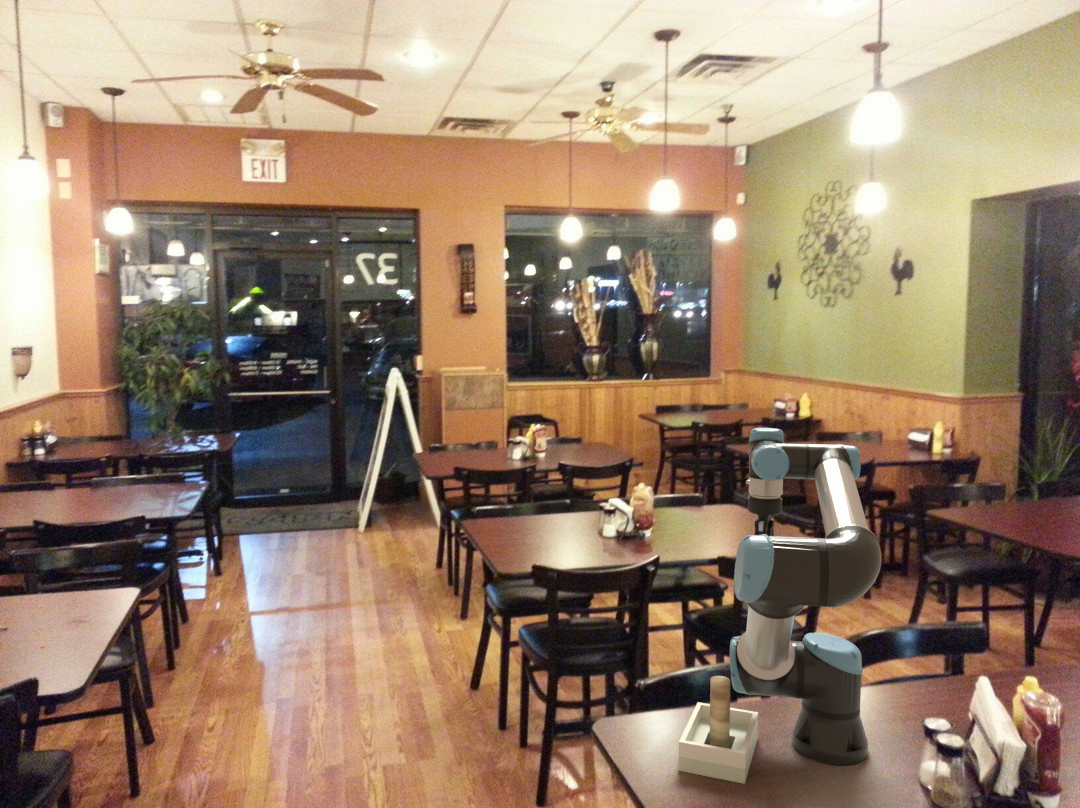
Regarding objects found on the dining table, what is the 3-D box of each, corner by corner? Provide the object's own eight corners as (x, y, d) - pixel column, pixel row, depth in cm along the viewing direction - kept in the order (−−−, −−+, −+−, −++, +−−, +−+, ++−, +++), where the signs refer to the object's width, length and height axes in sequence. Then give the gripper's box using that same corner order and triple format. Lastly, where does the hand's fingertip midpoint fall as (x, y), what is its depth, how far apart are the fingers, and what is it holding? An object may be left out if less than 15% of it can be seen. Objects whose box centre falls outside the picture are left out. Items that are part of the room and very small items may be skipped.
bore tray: (757, 739, 178) (758, 712, 177) (744, 783, 160) (745, 754, 160) (697, 728, 183) (697, 702, 182) (678, 770, 165) (678, 741, 165)
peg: (711, 748, 174) (712, 674, 173) (730, 751, 173) (731, 677, 171) (707, 757, 170) (708, 682, 169) (727, 760, 169) (728, 685, 168)
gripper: (755, 485, 202) (753, 569, 204) (740, 504, 179) (738, 600, 181) (787, 487, 199) (785, 573, 201) (776, 507, 176) (773, 604, 178)
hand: (763, 586), depth 191 cm, fingers open, 13 cm apart
